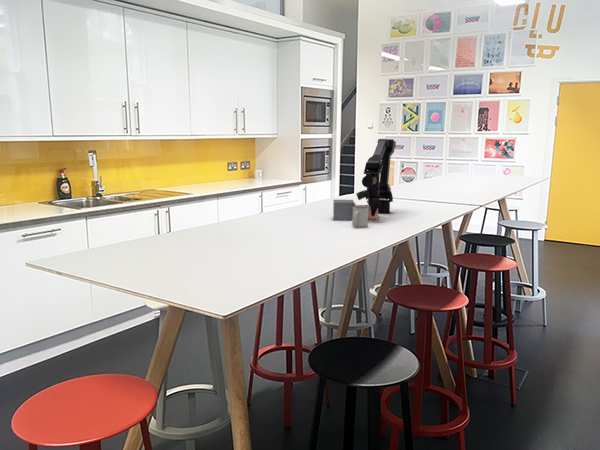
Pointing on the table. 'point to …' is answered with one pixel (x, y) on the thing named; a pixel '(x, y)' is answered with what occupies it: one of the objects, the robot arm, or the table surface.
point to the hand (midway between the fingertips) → (372, 215)
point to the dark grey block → (343, 209)
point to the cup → (360, 216)
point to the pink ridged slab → (370, 212)
